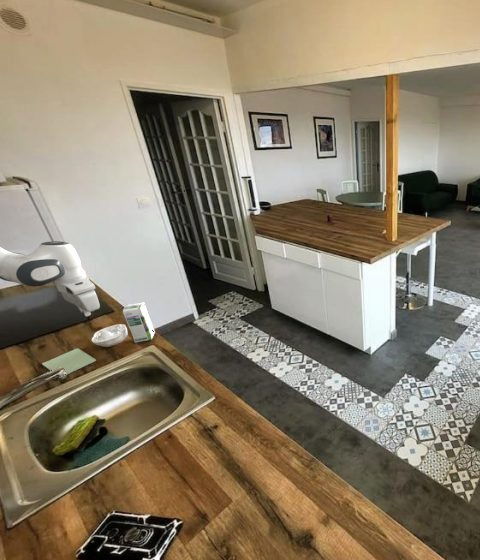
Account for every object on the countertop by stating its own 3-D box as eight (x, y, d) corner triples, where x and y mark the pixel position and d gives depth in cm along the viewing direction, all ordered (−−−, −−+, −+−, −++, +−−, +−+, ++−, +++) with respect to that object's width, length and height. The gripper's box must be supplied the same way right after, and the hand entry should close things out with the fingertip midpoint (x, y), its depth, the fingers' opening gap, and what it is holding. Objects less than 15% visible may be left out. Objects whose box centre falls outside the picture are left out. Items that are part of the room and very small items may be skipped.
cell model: (137, 333, 127) (132, 319, 124) (118, 351, 116) (111, 336, 113) (110, 334, 125) (104, 320, 122) (88, 353, 115) (80, 338, 112)
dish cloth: (59, 377, 103) (59, 377, 103) (42, 364, 109) (41, 363, 109) (96, 360, 111) (96, 359, 111) (78, 348, 117) (77, 348, 117)
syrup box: (134, 343, 121) (121, 311, 114) (138, 335, 125) (126, 304, 119) (152, 340, 123) (140, 308, 117) (155, 332, 128) (144, 301, 121)
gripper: (49, 280, 117) (64, 311, 123) (74, 292, 109) (89, 325, 114) (70, 274, 122) (84, 305, 128) (96, 285, 114) (109, 317, 120)
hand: (86, 314), depth 121 cm, fingers closed
